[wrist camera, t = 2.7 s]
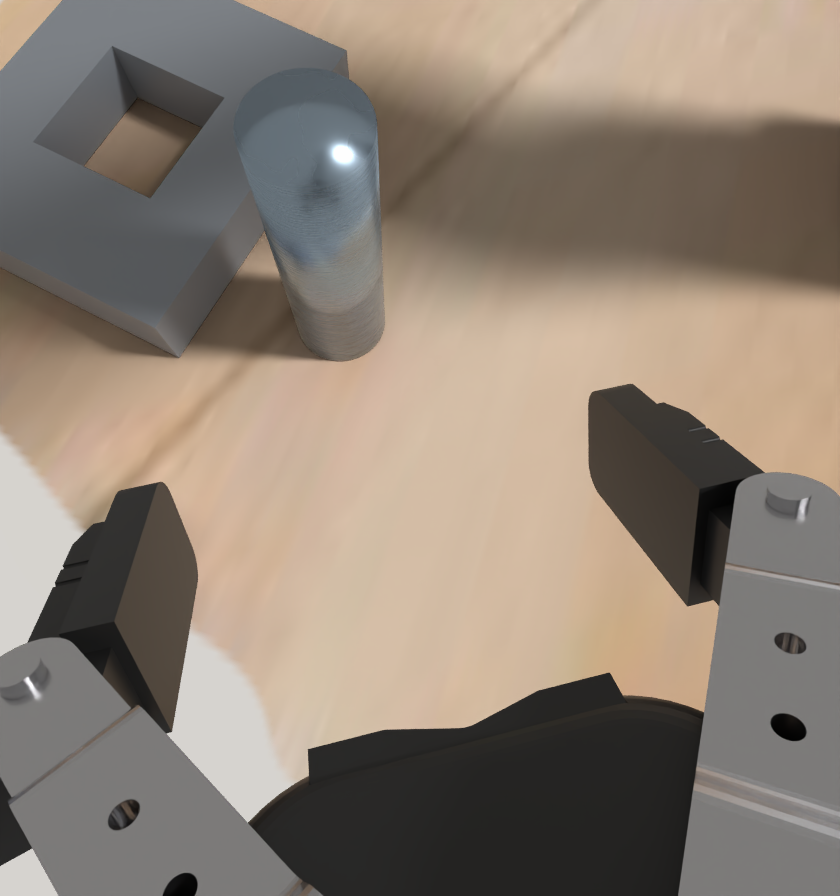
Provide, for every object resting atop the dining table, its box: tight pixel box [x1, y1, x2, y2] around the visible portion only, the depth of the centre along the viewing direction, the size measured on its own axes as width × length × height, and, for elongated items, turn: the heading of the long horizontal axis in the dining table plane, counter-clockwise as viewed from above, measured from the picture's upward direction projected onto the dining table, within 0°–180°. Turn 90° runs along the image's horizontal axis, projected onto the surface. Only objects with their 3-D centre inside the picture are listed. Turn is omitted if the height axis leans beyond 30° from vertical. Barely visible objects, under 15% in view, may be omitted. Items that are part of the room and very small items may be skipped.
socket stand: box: [0, 0, 349, 358], centre depth 30 cm, size 16×13×3 cm
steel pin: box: [233, 68, 385, 361], centre depth 24 cm, size 4×4×12 cm
